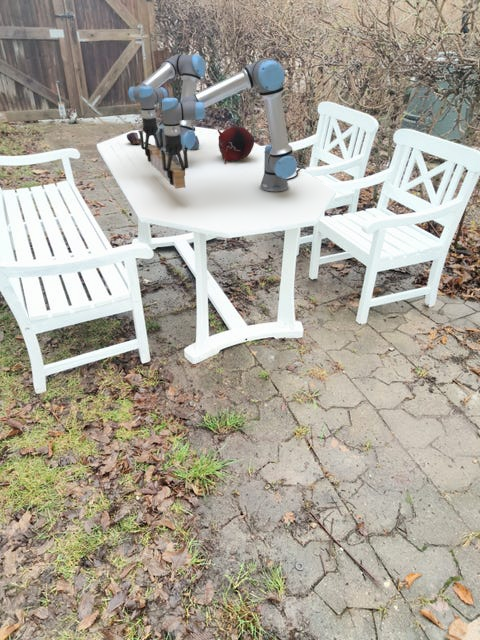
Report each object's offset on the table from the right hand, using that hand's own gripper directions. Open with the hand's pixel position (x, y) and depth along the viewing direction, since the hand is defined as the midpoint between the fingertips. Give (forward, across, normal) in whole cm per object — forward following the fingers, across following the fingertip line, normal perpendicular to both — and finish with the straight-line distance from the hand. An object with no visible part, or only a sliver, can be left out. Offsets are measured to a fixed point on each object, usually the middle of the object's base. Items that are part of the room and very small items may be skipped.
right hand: (176, 183), depth 225 cm
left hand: (0, +1, +47) cm, 47 cm away
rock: (+11, +8, +138) cm, 139 cm away
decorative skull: (+11, +61, +67) cm, 92 cm away
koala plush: (+11, +41, +111) cm, 119 cm away
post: (+1, 0, +24) cm, 24 cm away
